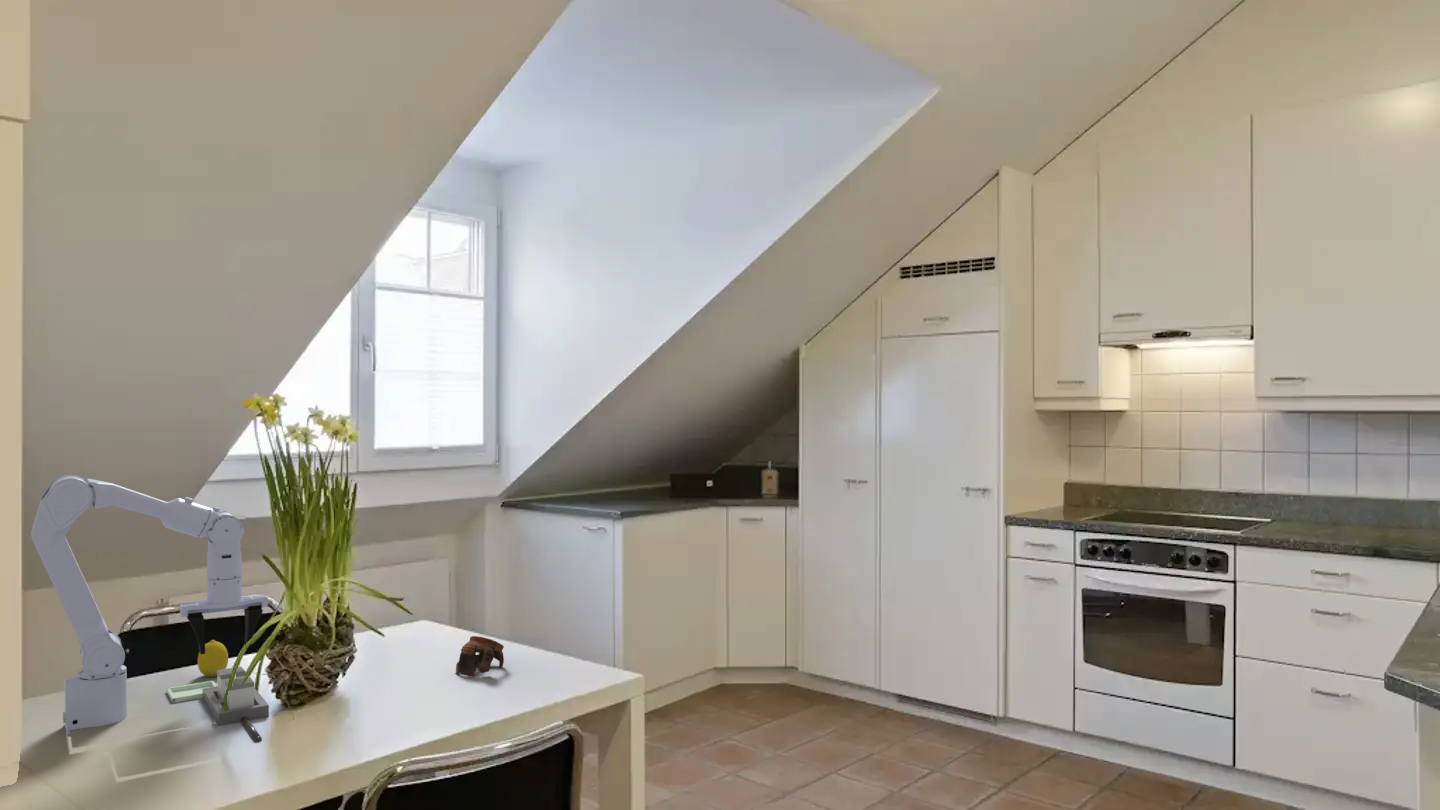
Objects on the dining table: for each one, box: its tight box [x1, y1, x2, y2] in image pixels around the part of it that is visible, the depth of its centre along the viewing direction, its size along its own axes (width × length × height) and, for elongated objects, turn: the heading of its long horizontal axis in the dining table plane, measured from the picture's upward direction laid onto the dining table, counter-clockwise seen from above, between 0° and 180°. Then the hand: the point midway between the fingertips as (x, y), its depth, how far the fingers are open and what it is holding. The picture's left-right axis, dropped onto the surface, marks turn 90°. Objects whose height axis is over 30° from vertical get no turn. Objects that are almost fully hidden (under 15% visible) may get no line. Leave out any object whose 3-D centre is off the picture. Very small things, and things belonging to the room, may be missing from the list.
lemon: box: [197, 639, 229, 678], centre depth 198 cm, size 6×6×8 cm
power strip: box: [202, 685, 270, 743], centre depth 173 cm, size 8×31×3 cm, turn 36°
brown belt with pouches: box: [455, 635, 505, 677], centre depth 202 cm, size 12×10×8 cm
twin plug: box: [225, 676, 255, 710], centre depth 174 cm, size 4×4×6 cm
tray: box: [166, 680, 218, 704], centre depth 186 cm, size 8×8×2 cm
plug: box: [216, 666, 246, 699], centre depth 181 cm, size 4×4×6 cm
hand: (225, 649), depth 182 cm, fingers open, 7 cm apart
